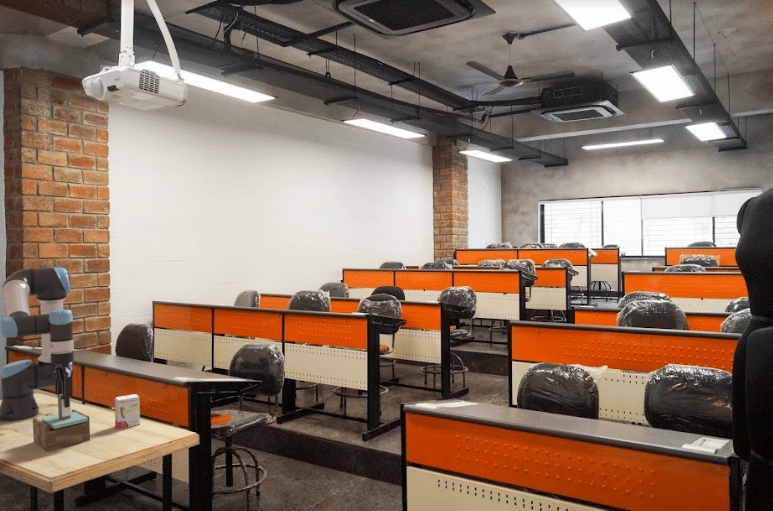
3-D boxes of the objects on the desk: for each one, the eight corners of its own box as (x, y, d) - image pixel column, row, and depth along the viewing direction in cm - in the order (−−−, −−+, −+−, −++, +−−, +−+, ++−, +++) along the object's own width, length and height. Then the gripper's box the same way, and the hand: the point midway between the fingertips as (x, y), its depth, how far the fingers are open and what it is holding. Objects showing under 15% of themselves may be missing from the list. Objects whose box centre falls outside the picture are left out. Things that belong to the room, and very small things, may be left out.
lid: (42, 422, 211) (40, 394, 211) (74, 414, 220) (73, 388, 220) (54, 429, 203) (53, 400, 202) (87, 421, 211) (86, 393, 211)
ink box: (117, 429, 226) (116, 400, 226) (115, 426, 230) (114, 397, 230) (140, 424, 232) (139, 396, 231) (137, 422, 236) (136, 393, 235)
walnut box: (33, 442, 214) (32, 418, 214) (74, 432, 224) (74, 409, 224) (47, 451, 204) (46, 426, 204) (90, 440, 215) (89, 416, 214)
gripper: (43, 351, 213) (45, 413, 214) (58, 356, 202) (61, 421, 203) (65, 347, 219) (67, 408, 219) (81, 352, 208) (83, 416, 209)
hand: (64, 414), depth 211 cm, fingers closed on lid, 3 cm apart
